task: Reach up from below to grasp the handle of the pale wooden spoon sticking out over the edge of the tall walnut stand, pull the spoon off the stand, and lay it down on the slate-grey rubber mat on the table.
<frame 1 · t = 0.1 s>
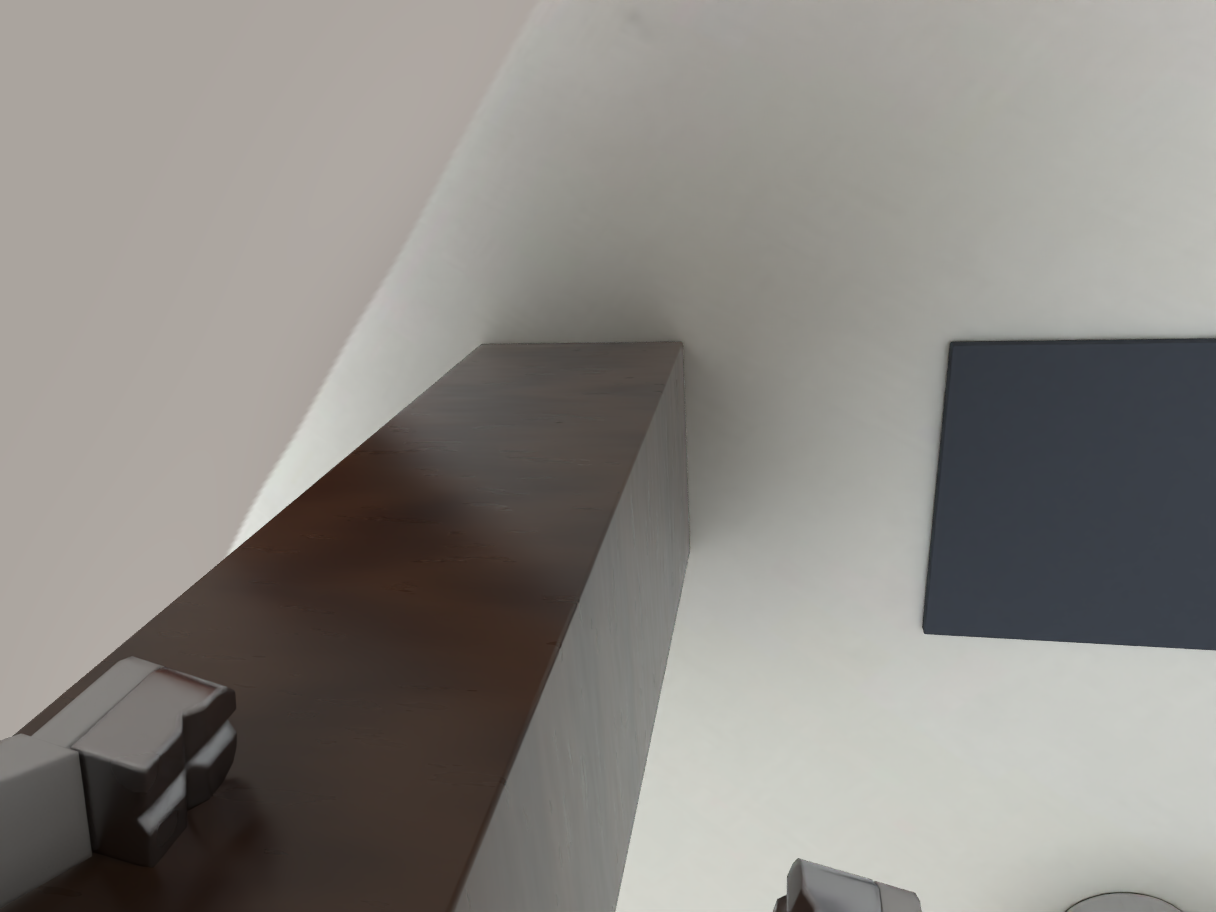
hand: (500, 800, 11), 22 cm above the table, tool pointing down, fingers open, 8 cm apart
stand: (588, 450, 33), on the table
mat: (1202, 501, 29), on the table
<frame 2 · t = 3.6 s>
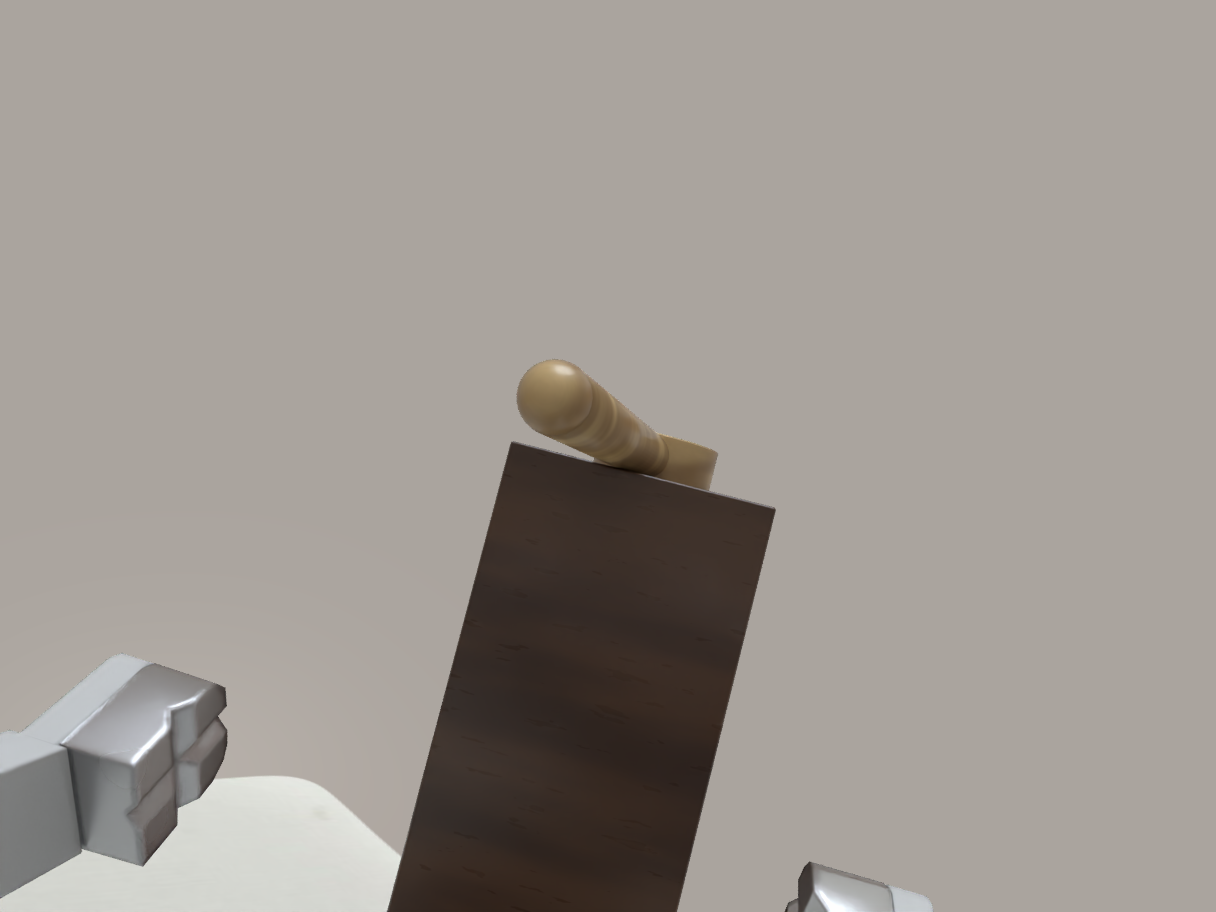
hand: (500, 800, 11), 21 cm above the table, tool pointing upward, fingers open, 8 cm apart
spoon: (654, 460, 33), point 27 cm above the table, touching stand
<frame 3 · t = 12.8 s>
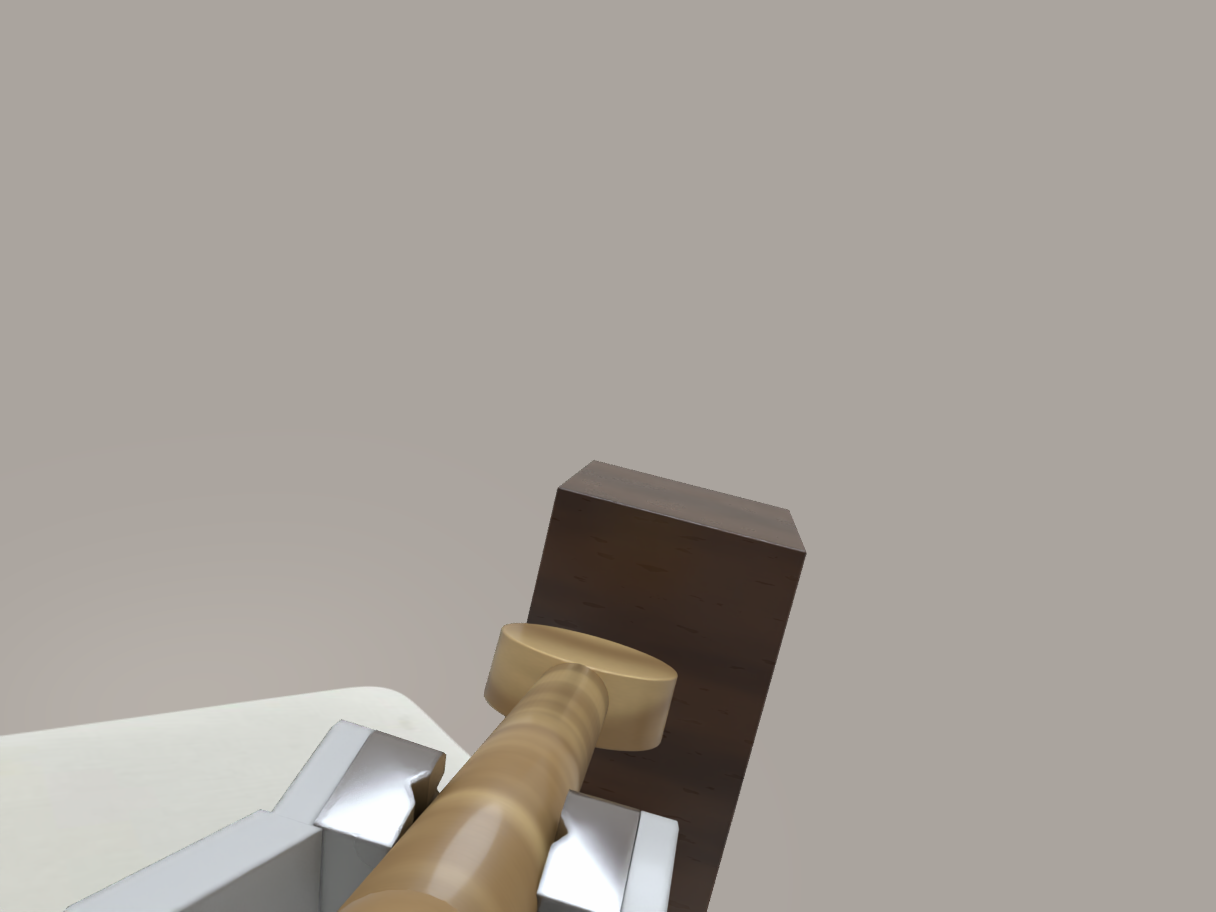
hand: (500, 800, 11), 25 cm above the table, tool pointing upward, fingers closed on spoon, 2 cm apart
spoon: (581, 682, 22), point 23 cm above the table, tilted 12°, touching gripper
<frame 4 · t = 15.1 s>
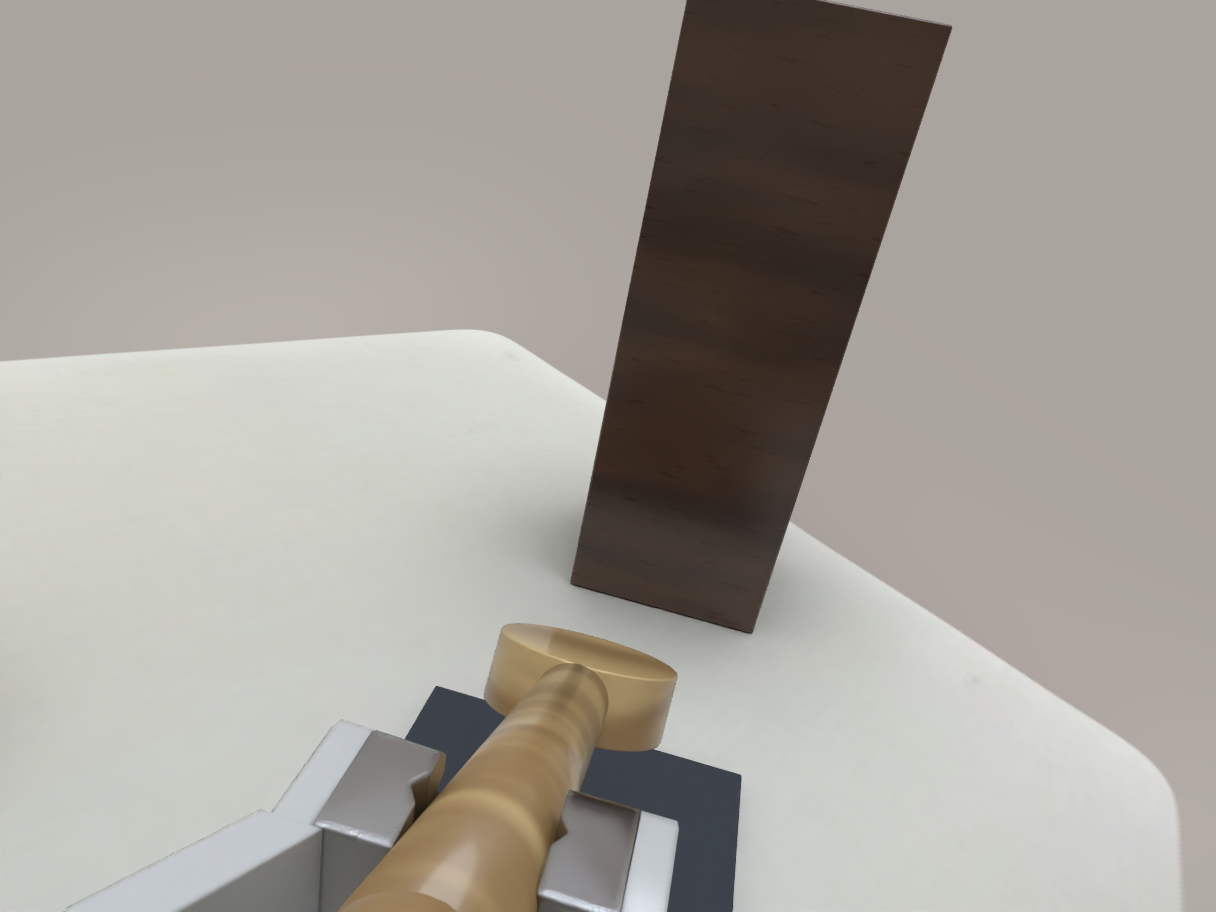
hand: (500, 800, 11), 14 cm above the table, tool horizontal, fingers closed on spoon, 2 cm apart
stand: (670, 565, 43), on the table
spoon: (581, 683, 22), point 8 cm above the table, tilted 30°, touching gripper
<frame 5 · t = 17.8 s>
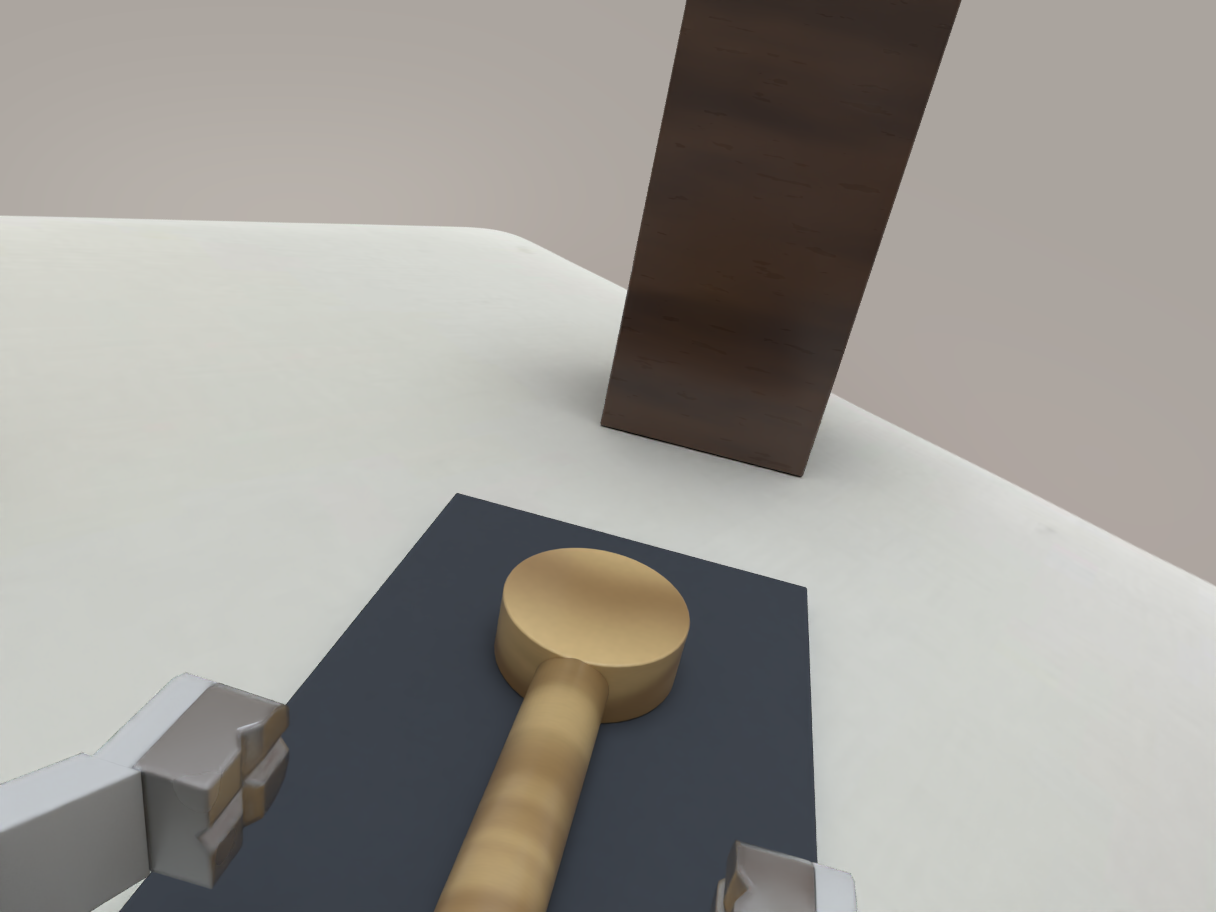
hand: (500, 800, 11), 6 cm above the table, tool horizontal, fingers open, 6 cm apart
stand: (707, 417, 39), on the table
spoon: (591, 628, 21), point 1 cm above the table, touching mat
mat: (558, 745, 19), on the table
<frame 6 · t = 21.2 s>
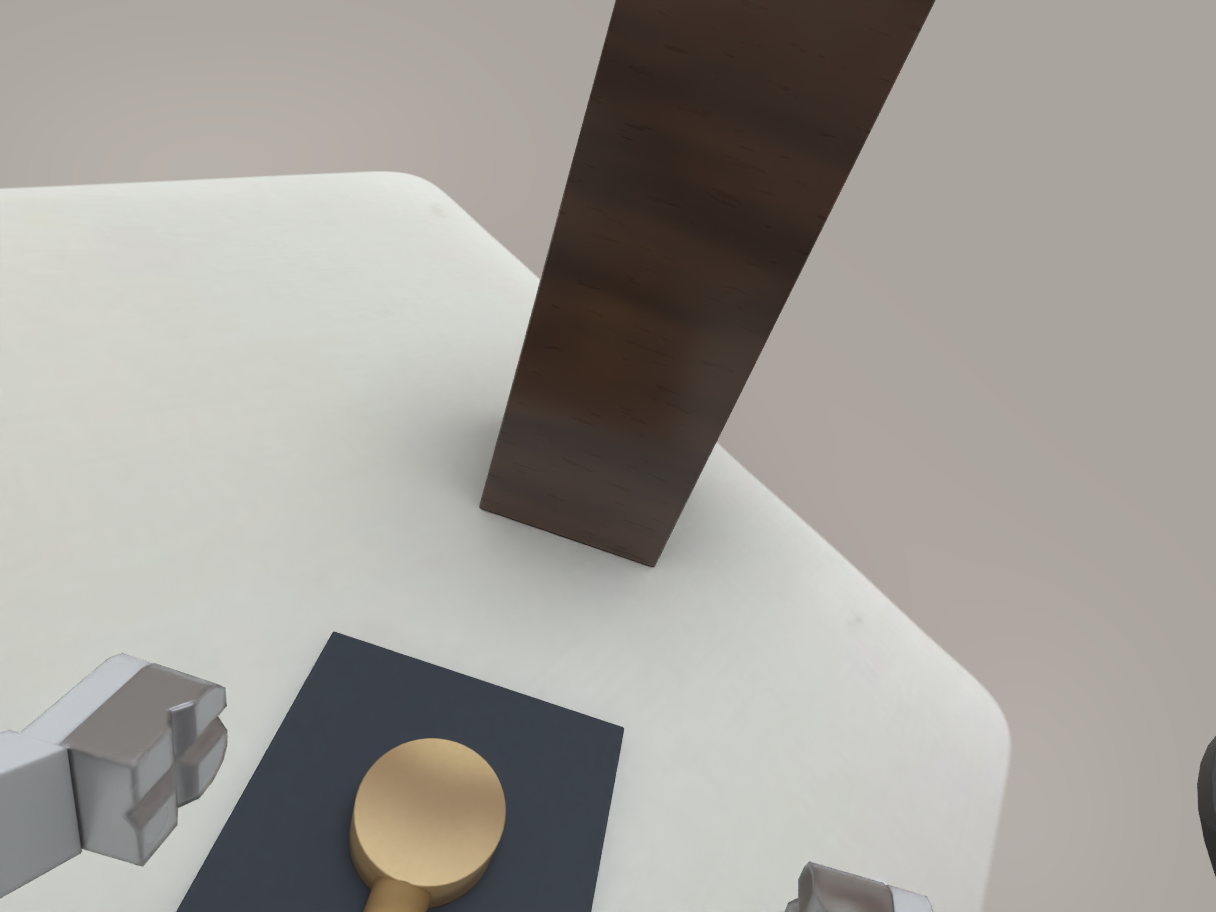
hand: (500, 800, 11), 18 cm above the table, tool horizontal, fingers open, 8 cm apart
stand: (583, 486, 43), on the table
spoon: (428, 819, 27), point 1 cm above the table, touching mat
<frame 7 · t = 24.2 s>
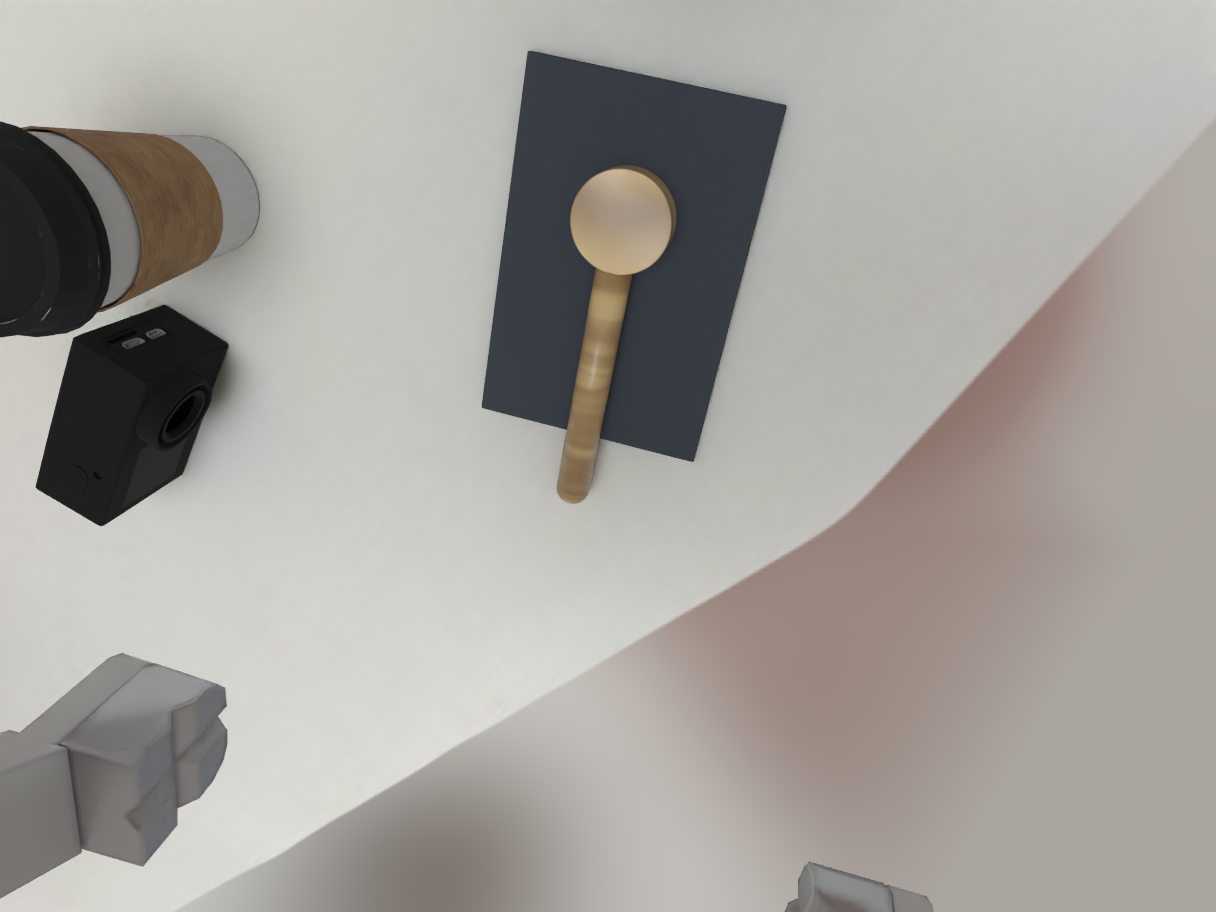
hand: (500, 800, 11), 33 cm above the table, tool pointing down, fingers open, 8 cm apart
digital camera: (185, 398, 50), on the table
coffee cup: (211, 194, 44), on the table
spoon: (623, 220, 39), point 1 cm above the table, touching mat
mat: (619, 271, 41), on the table
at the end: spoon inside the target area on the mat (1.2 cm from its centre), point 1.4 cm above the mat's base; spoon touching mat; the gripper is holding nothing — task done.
